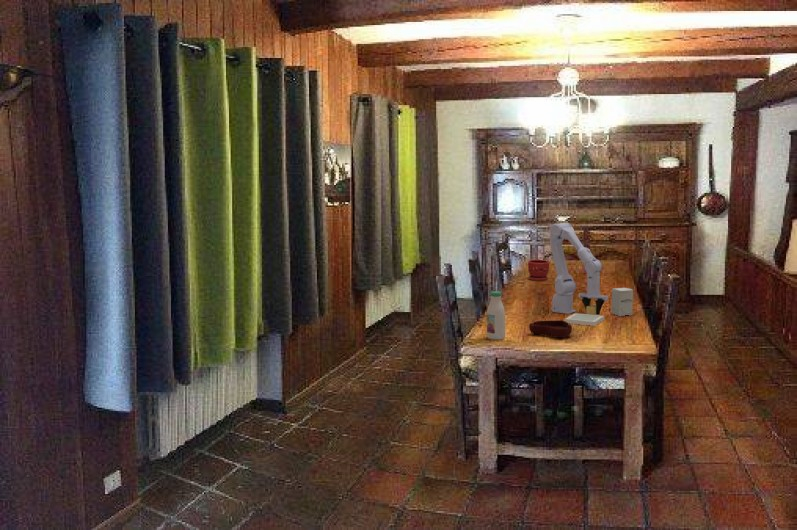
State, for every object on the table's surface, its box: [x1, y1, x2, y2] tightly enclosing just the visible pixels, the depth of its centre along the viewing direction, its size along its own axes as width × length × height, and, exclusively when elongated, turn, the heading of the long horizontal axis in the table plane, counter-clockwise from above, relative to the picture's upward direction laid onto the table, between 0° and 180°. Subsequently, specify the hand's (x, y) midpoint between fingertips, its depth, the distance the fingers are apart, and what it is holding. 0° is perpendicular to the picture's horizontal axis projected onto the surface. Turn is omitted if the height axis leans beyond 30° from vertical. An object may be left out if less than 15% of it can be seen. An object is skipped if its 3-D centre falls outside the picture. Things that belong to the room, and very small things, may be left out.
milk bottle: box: [486, 290, 506, 341], centre depth 306 cm, size 8×8×20 cm
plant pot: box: [527, 259, 550, 282], centre depth 453 cm, size 13×13×12 cm
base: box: [564, 312, 605, 327], centre depth 334 cm, size 14×14×2 cm
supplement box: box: [610, 287, 634, 317], centre depth 346 cm, size 7×7×13 cm
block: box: [585, 304, 601, 316], centre depth 344 cm, size 5×5×5 cm
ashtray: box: [528, 320, 573, 340], centre depth 311 cm, size 18×16×5 cm
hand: (593, 313), depth 344 cm, fingers closed on block, 5 cm apart
